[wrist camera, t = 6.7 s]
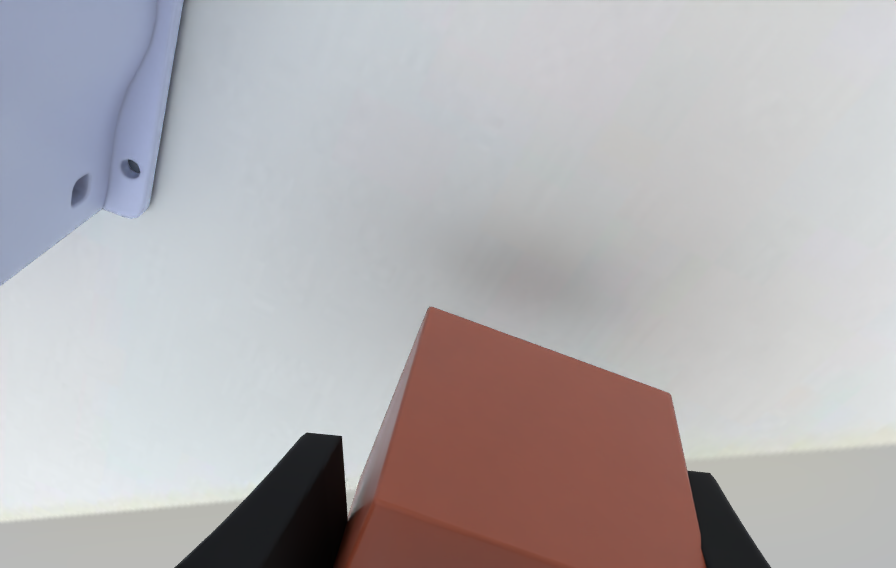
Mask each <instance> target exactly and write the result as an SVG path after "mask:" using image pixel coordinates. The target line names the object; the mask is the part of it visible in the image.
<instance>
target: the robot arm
mask: <svg viewBox="0 0 896 568" xmlns="http://www.w3.org/2000/svg"><path fill="white" fill-rule="evenodd" d="M183 1H184V0H0V286H1V285H2V284H4V283H5V282H6V281H8V280H9V279H10V278H12V277H13V276H14V275H15V274H17V273H18V272H19V271H21V270H22V269H23V268H25V267H26V266H27V265H29V264H30V263H31V262H33V261H34V260H35V259H37V258H38V257H39V256H41V255H42V254H43V253H44V252H46V251H47V250H48V249H50V248H51V247H52V246H54V245H55V244H56V243H58V242H59V241H60V240H62V239H63V238H64V237H66V236H67V235H68V234H69V233H71V232H72V231H73V230H75V229H76V228H77V227H79V226H80V225H81V224H83V223H84V222H85V221H87V220H88V219H89V218H91V217H92V216H93V215H95V214H96V213H97V212H98V211H100V210H101V209H104V210H107V211H109V212H112V213H114V214H117V215H120V216H122V217H126V218H131V219H132V218H137V217H139V216H140V215H141V214H142V213H144V212H145V211H146V210H147V209H148V207H149V204H150V199H151V193H152V187H153V181H154V175H155V169H156V163H157V157H158V151H159V145H160V139H161V133H162V127H163V121H164V115H165V109H166V103H167V97H168V91H169V85H170V79H171V73H172V67H173V61H174V55H175V49H176V43H177V37H178V31H179V25H180V19H181V13H182V7H183ZM128 160H132V161H134V162H135V163H137V165H138V166H139V168H140V173H136V172H135V171H133V170H132V169H131V168H130V166H129V164H128ZM687 472H688V477H689V482H690V486H691V491H692V496H693V500H694V505H695V510H696V515H697V519H698V524H699V529H700V533H701V550H702V553H703V556H704V560H705V564H706V567H707V568H771V567H770V565H769V564H768V563H767V561H766V560H765V558H764V557H763V555H762V554H761V552H760V551H759V549H758V548H757V546H756V545H755V543H754V541H753V540H752V538H751V537H750V536H749V534H748V532H747V531H746V529H745V527H744V526H743V524H742V523H741V521H740V520H739V518H738V516H737V515H736V513H735V512H734V510H733V508H732V507H731V505H730V503H729V502H728V500H727V498H726V497H725V495H724V493H723V492H722V490H721V488H720V487H719V485H718V483H717V482H716V480H715V479H714V477H713V476H712V475H711V474H710V473H704V472H694V471H687ZM347 522H348V516H347V503H346V488H345V474H344V460H343V446H342V436H335V435H325V434H315V433H306V434H304V435H303V436H302V437H300V439H299V440H298V441H297V442H296V443H295V444H294V446H293V447H292V448H291V449H290V450H289V451H288V452H287V454H286V455H285V456H284V457H283V458H282V459H281V460H280V462H279V463H278V464H277V465H276V466H275V467H274V468H273V470H272V471H271V472H270V473H269V474H268V475H267V476H266V477H265V478H264V479H263V481H262V482H261V483H260V484H259V485H258V486H257V487H256V488H255V489H254V490H253V491H252V492H251V494H250V495H249V496H248V497H247V498H246V499H245V500H244V501H243V502H242V503H241V504H240V505H239V506H238V507H237V508H236V509H235V510H234V511H233V512H232V513H231V514H230V515H229V516H228V517H227V518H226V519H225V521H223V522H222V523H221V525H219V526H218V527H217V528H216V529H215V531H213V532H212V533H211V534H210V535H209V536H208V537H207V538H206V539H205V540H204V541H203V542H202V543H200V544H199V545H198V546H197V547H196V548H195V549H194V550H193V551H192V552H191V553H190V554H189V555H188V556H187V557H186V558H184V559H183V560H182V561H181V562H180V563H179V564H178V565H177V566H176V567H175V568H333V566H334V563H335V560H336V556H337V553H338V550H339V547H340V544H341V541H342V537H343V534H344V531H345V528H346V525H347Z"/></svg>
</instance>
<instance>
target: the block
mask: <svg viewBox="0 0 896 568" xmlns="http://www.w3.org/2000/svg"><path fill="white" fill-rule="evenodd" d="M333 568H707V567H706V564H705V560H704V556H703V553H702V550H701V533H700V529H699V524H698V519H697V515H696V510H695V505H694V500H693V496H692V491H691V486H690V482H689V477H688V472H687V467H686V463H685V458H684V453H683V449H682V444H681V439H680V435H679V430H678V425H677V420H676V416H675V411H674V406H673V402H672V397H671V395H670V394H669V393H668V392H665V391H662V390H659V389H657V388H654V387H651V386H648V385H646V384H643V383H640V382H637V381H635V380H632V379H629V378H626V377H624V376H621V375H618V374H615V373H613V372H610V371H607V370H604V369H602V368H599V367H596V366H593V365H591V364H588V363H585V362H582V361H580V360H577V359H574V358H572V357H569V356H566V355H563V354H561V353H558V352H555V351H552V350H550V349H547V348H544V347H541V346H539V345H536V344H533V343H530V342H528V341H525V340H522V339H519V338H517V337H514V336H511V335H508V334H506V333H503V332H500V331H497V330H495V329H492V328H489V327H486V326H484V325H481V324H478V323H476V322H473V321H470V320H467V319H465V318H462V317H459V316H456V315H454V314H451V313H448V312H445V311H443V310H440V309H437V308H434V307H429V308H428V309H427V312H426V314H425V317H424V319H423V322H422V324H421V327H420V329H419V332H418V334H417V337H416V339H415V342H414V344H413V347H412V349H411V352H410V354H409V357H408V359H407V362H406V364H405V367H404V369H403V372H402V374H401V377H400V379H399V382H398V384H397V387H396V389H395V392H394V395H393V397H392V400H391V402H390V405H389V407H388V410H387V412H386V415H385V417H384V420H383V422H382V425H381V427H380V430H379V432H378V435H377V437H376V440H375V442H374V445H373V447H372V450H371V452H370V455H369V457H368V460H367V462H366V465H365V467H364V470H363V472H362V475H361V478H360V480H359V483H358V486H357V489H356V493H355V496H354V499H353V502H352V505H351V508H350V512H349V515H348V522H347V525H346V528H345V531H344V534H343V537H342V541H341V544H340V547H339V550H338V553H337V556H336V560H335V563H334V566H333Z"/></svg>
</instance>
